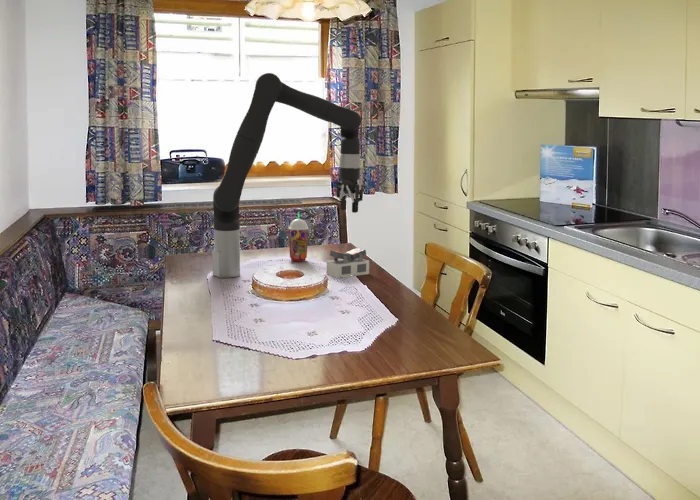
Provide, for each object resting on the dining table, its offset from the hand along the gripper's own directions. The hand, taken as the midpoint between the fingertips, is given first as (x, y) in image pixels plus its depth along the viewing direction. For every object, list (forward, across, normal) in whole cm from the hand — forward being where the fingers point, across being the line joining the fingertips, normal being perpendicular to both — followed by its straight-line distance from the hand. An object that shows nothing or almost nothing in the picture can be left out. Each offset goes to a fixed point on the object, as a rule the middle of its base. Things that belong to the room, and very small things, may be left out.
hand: (348, 211), depth 253 cm
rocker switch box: (+24, 0, 0) cm, 24 cm away
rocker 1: (+16, 0, -4) cm, 17 cm away
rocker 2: (+16, 0, +3) cm, 17 cm away
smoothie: (+24, -30, -4) cm, 39 cm away
